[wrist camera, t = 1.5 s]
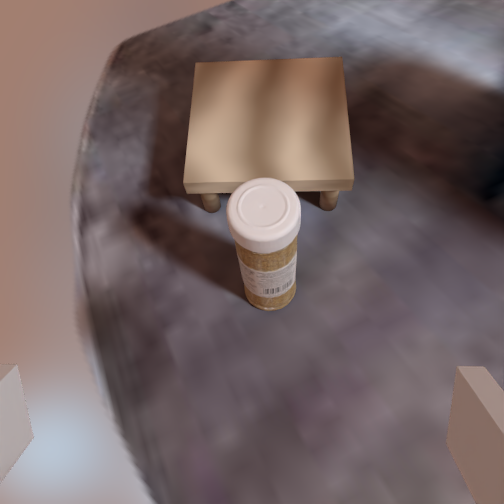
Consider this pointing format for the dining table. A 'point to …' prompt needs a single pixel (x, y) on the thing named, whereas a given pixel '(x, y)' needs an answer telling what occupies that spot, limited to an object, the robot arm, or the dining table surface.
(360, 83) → the dining table surface
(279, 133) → the stool
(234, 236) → the spice jar
